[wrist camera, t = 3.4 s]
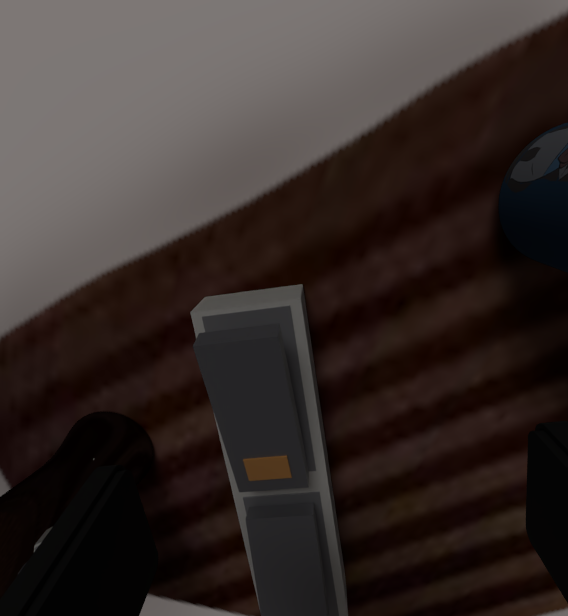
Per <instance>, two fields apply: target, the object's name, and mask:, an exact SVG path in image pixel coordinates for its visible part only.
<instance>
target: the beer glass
mask: <svg viewBox="0 0 568 616" xmlns="http://www.w3.org/2000/svg"><path fill="white" fill-rule="evenodd" d="M152 462H153V447H152V444H151V441H150V439H149V437H148V435H147V434H146V432H145V431H144V430H143V429H142V428H141V427H140V426H139V425H138V424H137V423H136V422H134V421H133V420H131V419H130V418H128V417H126V416H124V415H121V414H118V413H114V412H105V411H102V412H94V413H91V414H88V415H86V416H84V417H82V418H81V419H79V420H78V421H77V422H76V423H75V424H74V425H73V427H72V428H71V430H70V431H69V433H68V434H67V436H66V437H65V439H64V441H63V442H62V444H61V446H60V447H59V449H58V450H57V451H56V452H55V454H54V455H53V456H52V457H51V458H50V459H49V460H48V461H47V462H46V463H45V464H44V465H43V466H41V467H40V468H39V469H37V470H36V471H35V472H33V473H32V474H31V475H30V476H28V477H27V478H25V479H24V480H23V481H21V482H20V483H18V484H17V485H16V486H14V487H13V488H11V489H10V490H9V491H7V492H6V493H5V494H3V495H2V496H1V497H0V599H1V597H2V596H3V595H4V593H5V592H6V591H7V589H8V588H9V586H10V585H11V584H12V582H13V581H14V580H15V578H16V577H17V575H18V574H19V573H20V571H21V570H22V569H23V567H24V566H25V564H26V563H27V562H28V560H29V559H30V557H31V556H32V555H33V553H34V552H35V551H36V549H37V548H38V546H39V545H40V544H41V542H42V541H43V540H44V538H45V537H46V535H47V534H48V533H49V531H50V530H51V529H52V527H53V526H54V524H55V523H56V522H57V520H58V519H59V518H60V516H61V515H62V513H63V512H64V511H65V509H66V508H67V506H68V505H69V504H70V502H71V501H72V500H73V498H74V497H75V495H76V494H77V493H78V491H79V490H80V489H81V487H82V486H83V484H84V483H85V482H86V480H87V479H88V478H89V476H90V475H91V473H92V472H93V471H94V470H95V469H96V468H97V467H100V466H110V465H123V466H124V467H125V469H126V470H130V471H131V473H132V475H133V478H134V481H135V484H136V486H137V485H138V484H139V483H140V482H141V480H142V479H143V478H144V477H145V476H146V474H147V473H148V471H149V470H150V468H151V465H152Z"/></svg>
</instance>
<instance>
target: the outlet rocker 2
mask: <svg viewBox="0 0 568 616" xmlns="http://www.w3.org/2000/svg"><path fill="white" fill-rule="evenodd" d="M245 520H246V526H247V532H248V538H249V544H250V551H251V557H252V563H253V569H254V575H255V581H256V588H257V594H258V600H259V606H260V612H261V616H330V614H329V607H328V600H327V593H326V586H325V579H324V572H323V564H322V557H321V550H320V543H319V536H318V529H317V521H316V514H315V507H314V502H313V503H298V504H284V505H269V506H254V507H249V509H248V513H247V516H246V519H245Z"/></svg>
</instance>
